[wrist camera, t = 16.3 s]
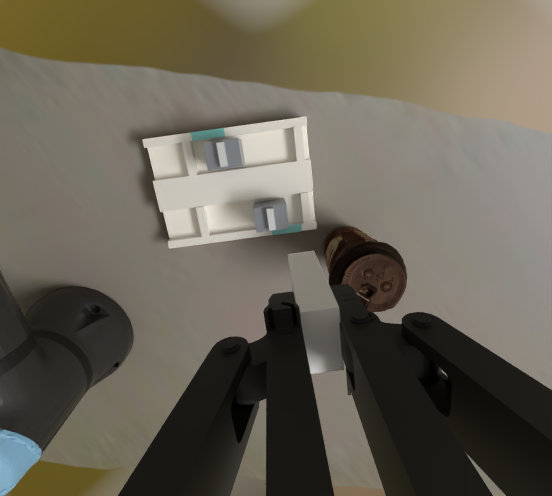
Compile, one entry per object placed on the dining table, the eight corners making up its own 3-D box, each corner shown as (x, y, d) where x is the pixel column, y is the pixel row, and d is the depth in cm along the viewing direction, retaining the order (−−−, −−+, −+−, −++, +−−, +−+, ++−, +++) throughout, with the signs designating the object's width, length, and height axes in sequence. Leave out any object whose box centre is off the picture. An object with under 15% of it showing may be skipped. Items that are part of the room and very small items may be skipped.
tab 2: (257, 224, 42) (256, 233, 37) (254, 202, 41) (252, 209, 36) (287, 220, 42) (289, 229, 37) (284, 198, 41) (286, 204, 36)
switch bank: (174, 243, 44) (168, 248, 42) (149, 139, 40) (141, 139, 38) (314, 224, 44) (317, 229, 41) (304, 118, 40) (306, 116, 37)
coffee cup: (322, 281, 47) (341, 329, 34) (307, 229, 44) (322, 261, 32) (379, 264, 46) (420, 307, 34) (367, 211, 44) (406, 236, 31)
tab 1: (214, 168, 40) (206, 170, 35) (209, 143, 39) (201, 142, 34) (245, 163, 40) (242, 166, 35) (241, 139, 39) (237, 138, 34)
